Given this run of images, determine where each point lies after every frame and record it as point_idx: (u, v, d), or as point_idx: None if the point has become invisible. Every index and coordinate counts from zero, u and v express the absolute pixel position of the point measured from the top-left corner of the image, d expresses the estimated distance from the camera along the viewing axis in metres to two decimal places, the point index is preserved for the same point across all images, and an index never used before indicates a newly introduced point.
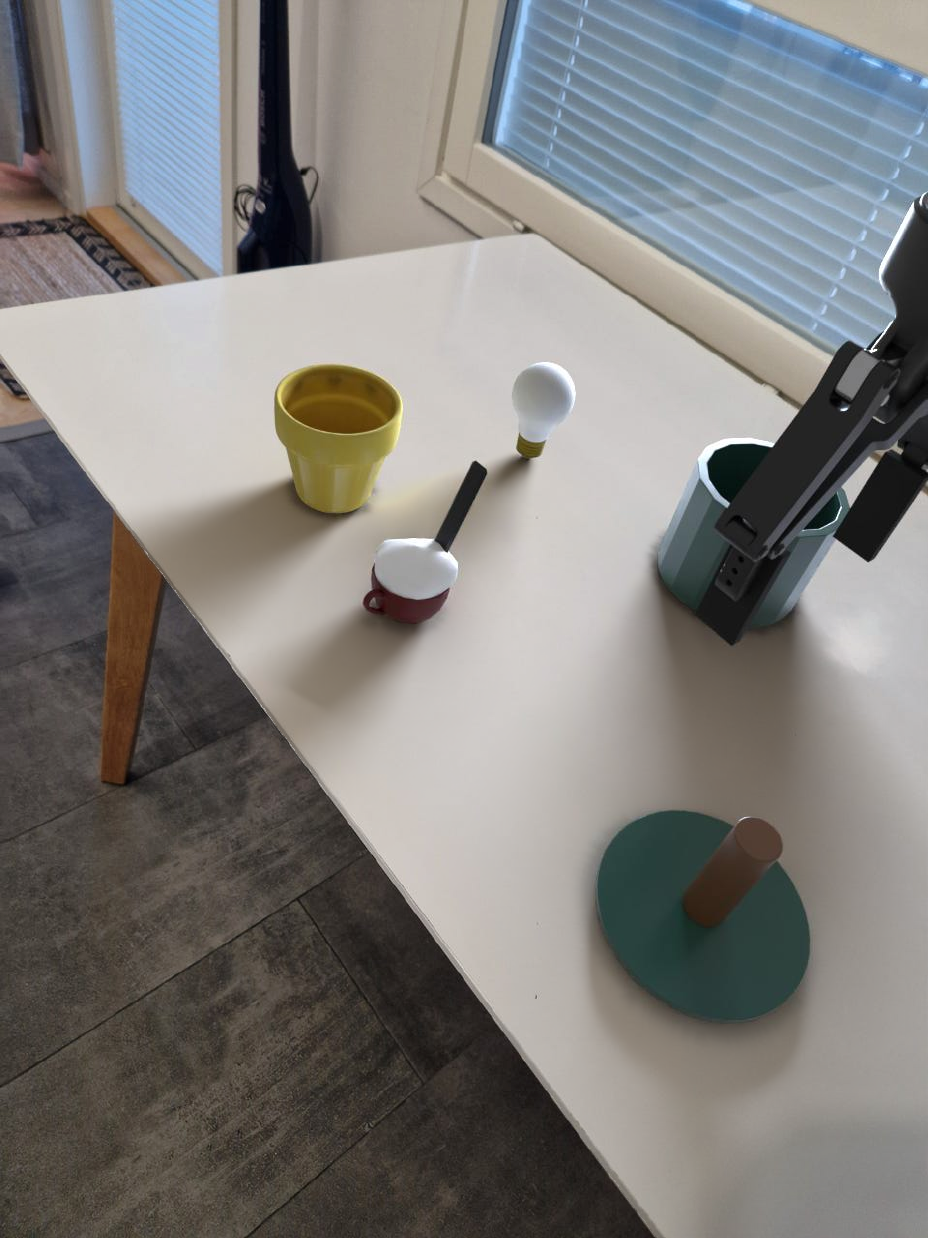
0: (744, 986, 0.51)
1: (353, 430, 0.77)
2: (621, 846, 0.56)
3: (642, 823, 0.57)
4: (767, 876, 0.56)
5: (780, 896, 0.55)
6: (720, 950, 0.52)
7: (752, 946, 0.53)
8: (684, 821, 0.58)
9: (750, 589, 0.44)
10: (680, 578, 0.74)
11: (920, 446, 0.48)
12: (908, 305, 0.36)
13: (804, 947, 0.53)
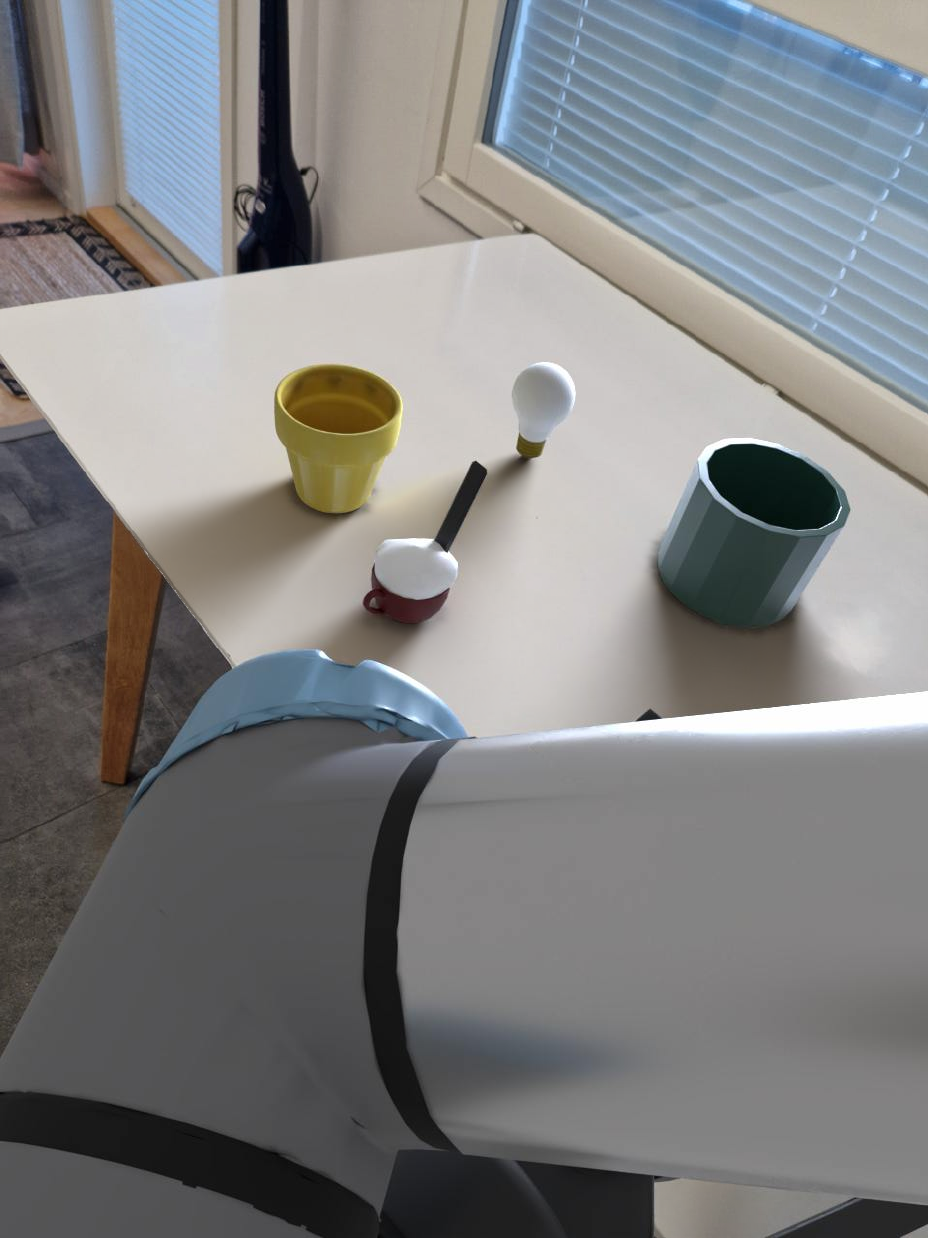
0: None
1: (353, 430, 0.77)
2: None
3: None
4: None
5: None
6: None
7: None
8: None
9: None
10: (680, 578, 0.74)
11: None
12: None
13: None
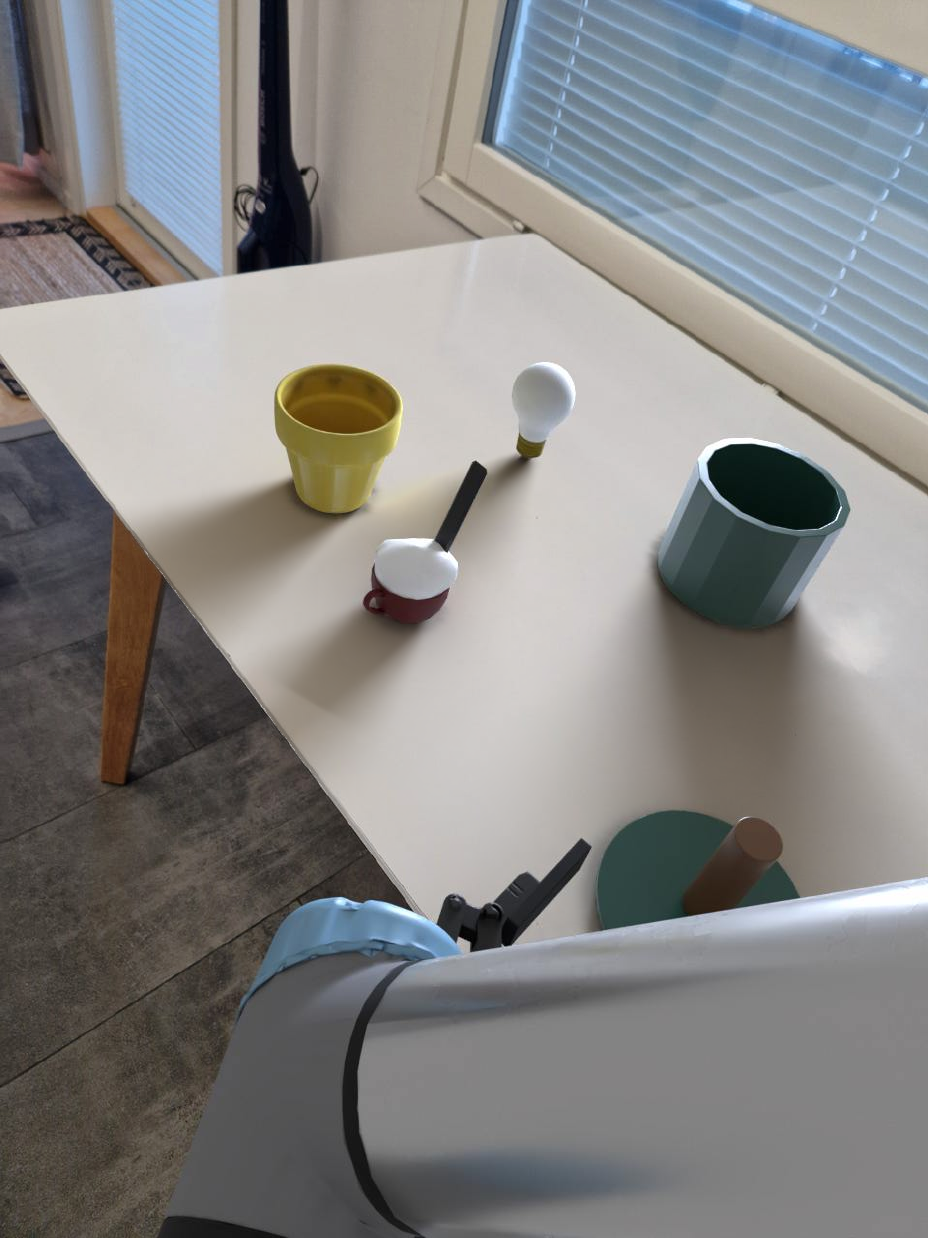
0: None
1: (353, 430, 0.77)
2: (621, 846, 0.56)
3: (642, 823, 0.57)
4: (767, 876, 0.56)
5: (780, 896, 0.55)
6: None
7: None
8: (684, 821, 0.58)
9: None
10: (680, 578, 0.74)
11: None
12: None
13: None
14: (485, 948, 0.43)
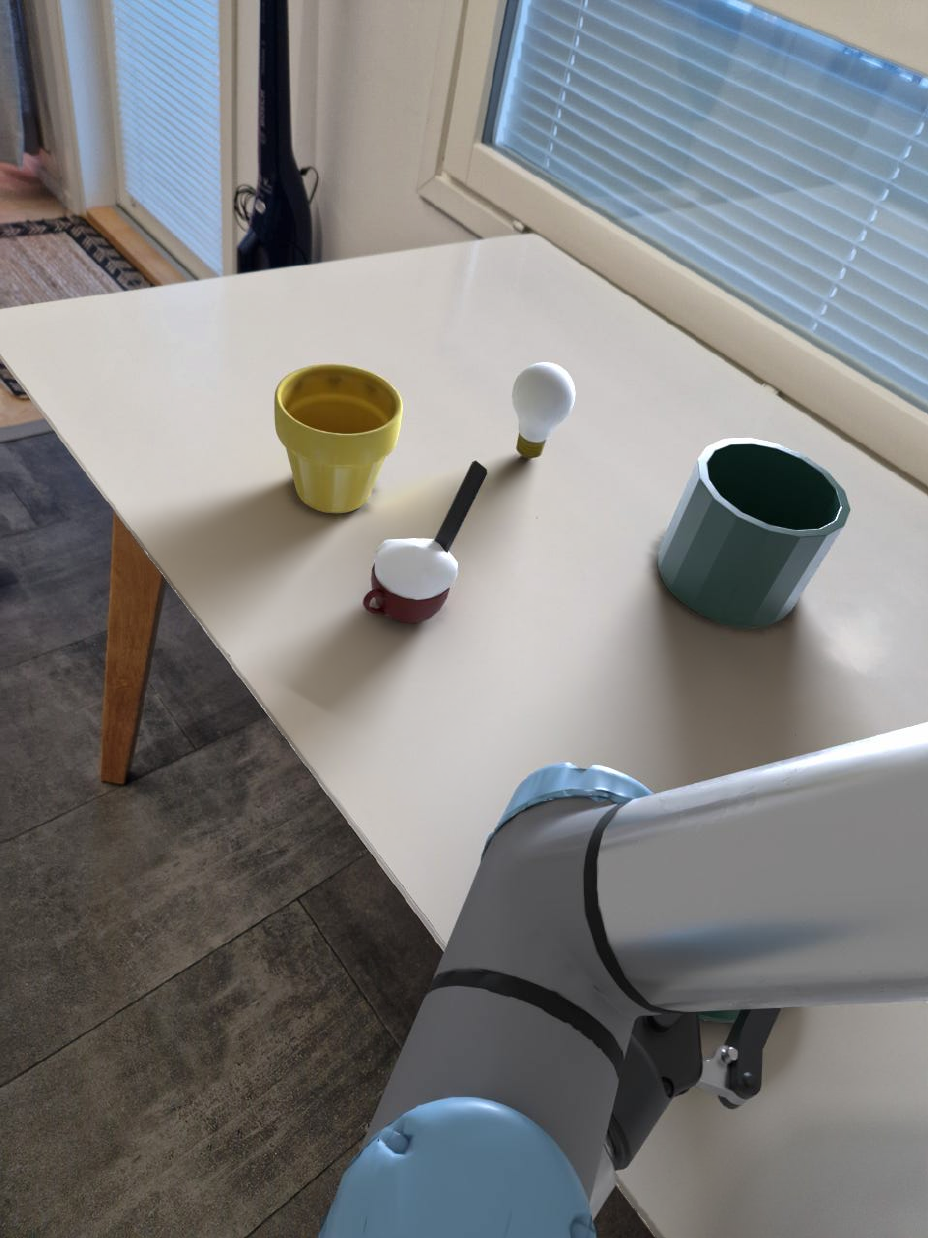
0: None
1: (353, 430, 0.77)
2: None
3: None
4: None
5: None
6: None
7: None
8: None
9: None
10: (680, 578, 0.74)
11: None
12: None
13: None
14: None
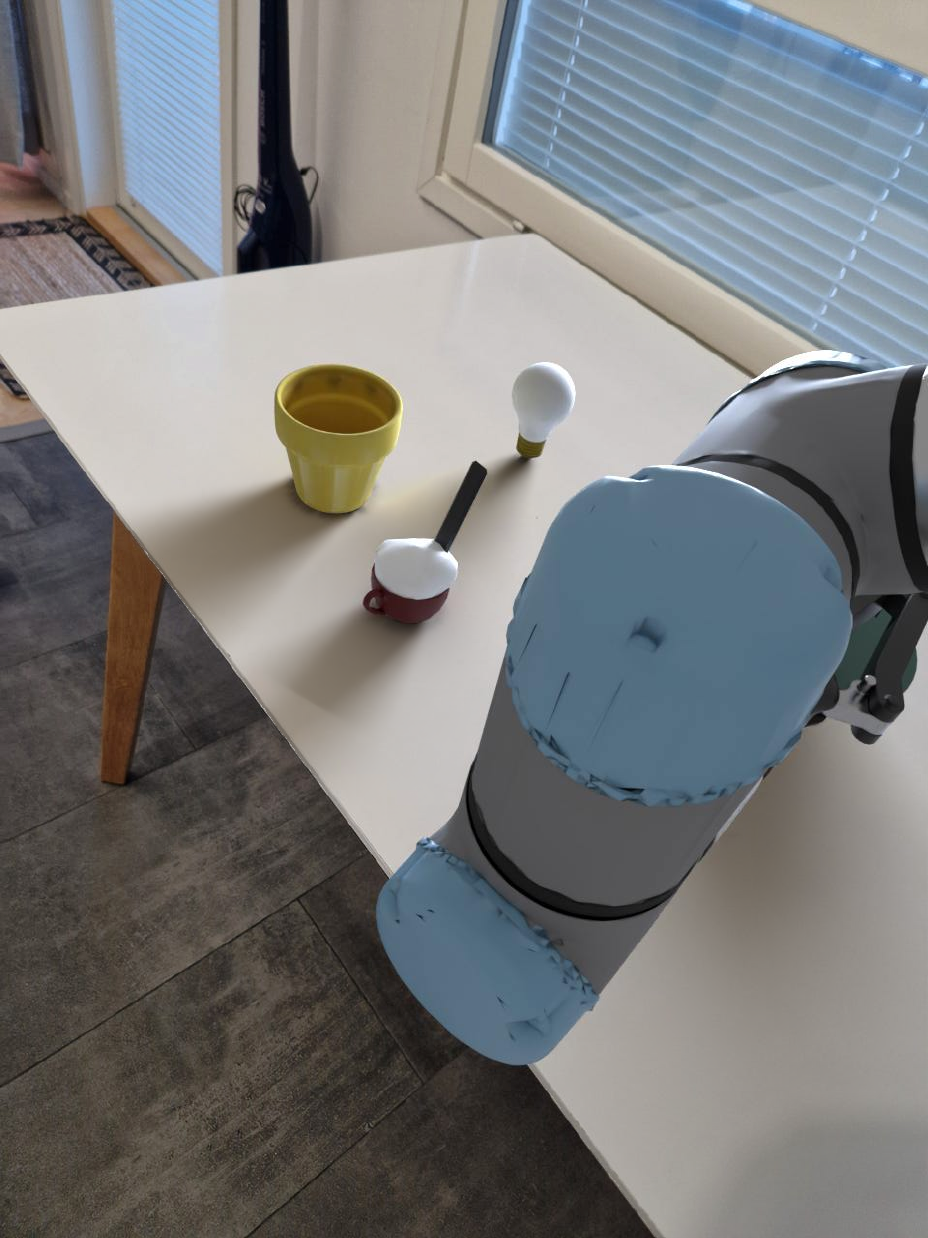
0: None
1: (353, 430, 0.77)
2: None
3: None
4: None
5: (880, 613, 0.53)
6: None
7: (858, 652, 0.50)
8: None
9: None
10: None
11: None
12: None
13: None
14: None
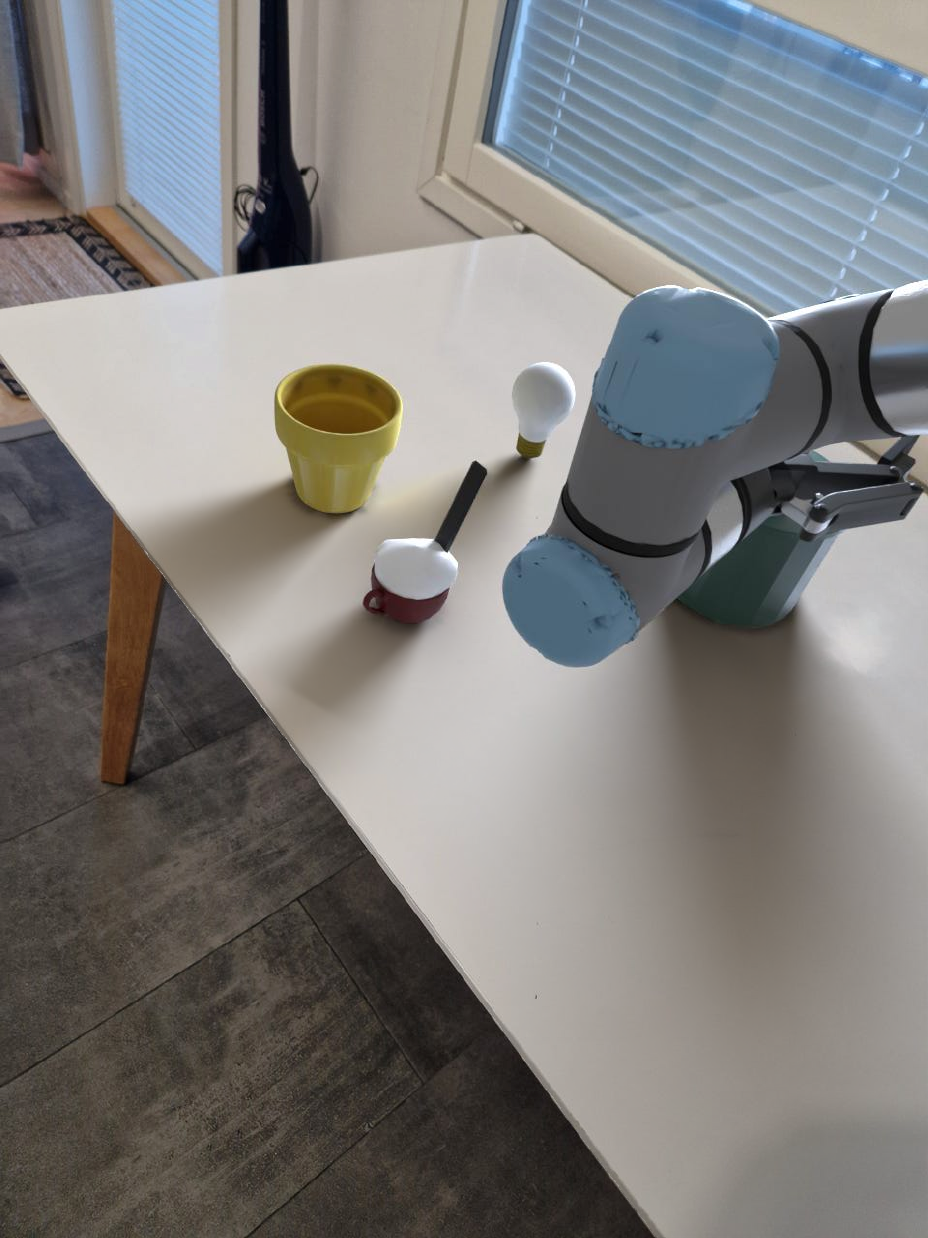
0: None
1: (353, 430, 0.77)
2: None
3: None
4: None
5: None
6: None
7: None
8: None
9: (901, 454, 0.62)
10: None
11: None
12: (762, 521, 0.56)
13: None
14: None
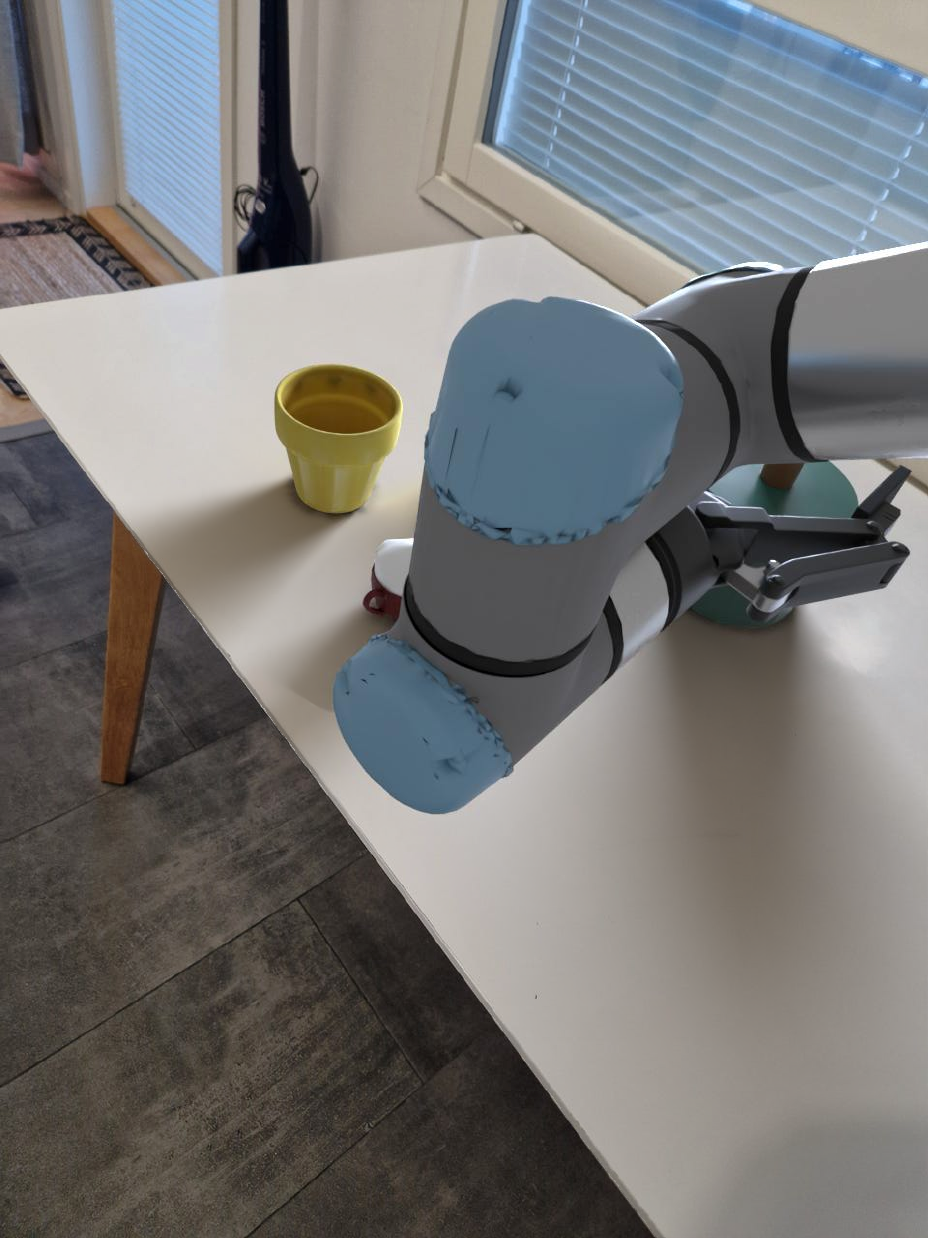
0: None
1: (353, 430, 0.77)
2: None
3: None
4: (823, 468, 0.72)
5: (833, 479, 0.72)
6: (790, 500, 0.68)
7: (814, 501, 0.69)
8: None
9: (882, 502, 0.50)
10: None
11: None
12: (701, 596, 0.44)
13: (854, 505, 0.69)
14: None
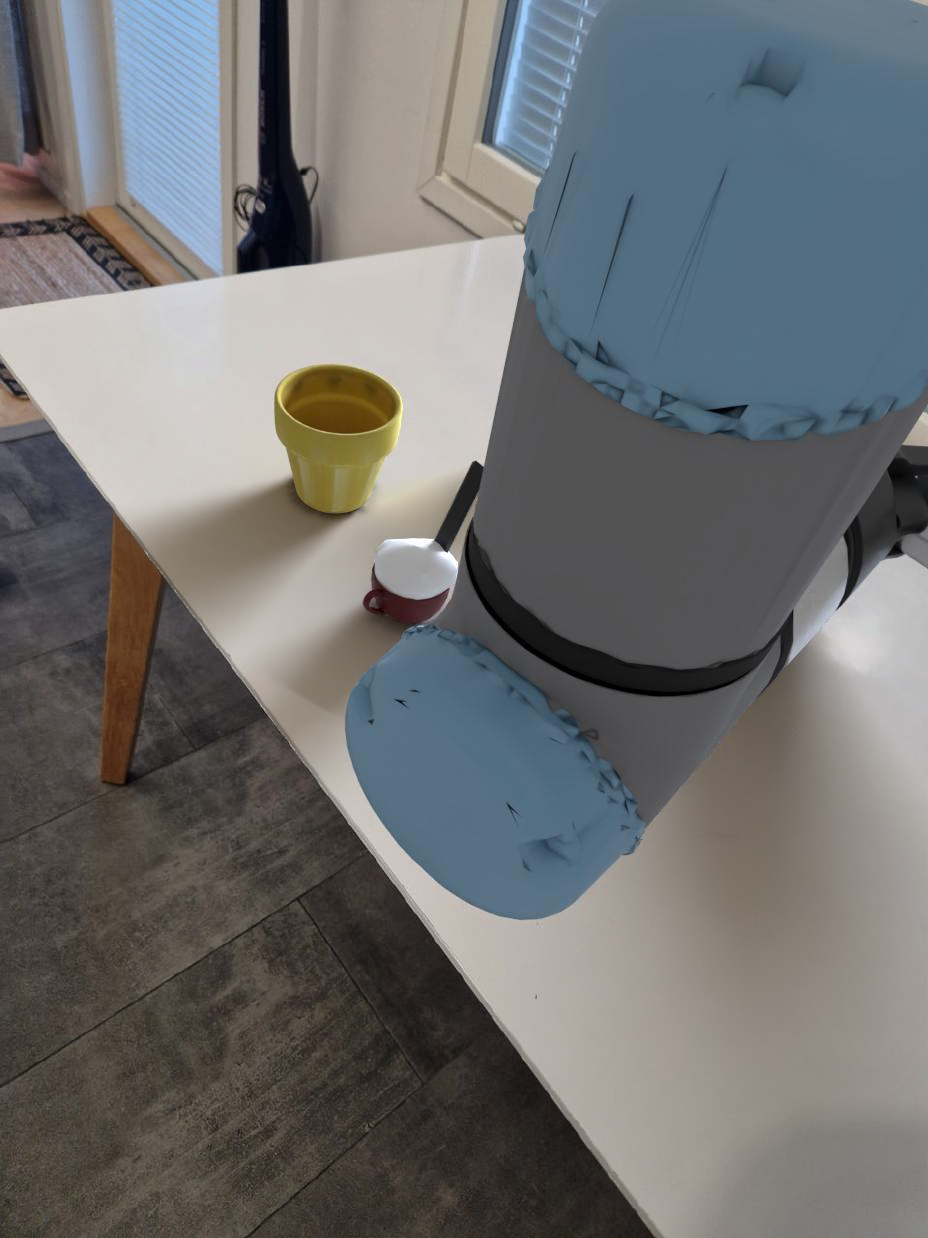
0: None
1: (353, 430, 0.77)
2: None
3: None
4: None
5: None
6: None
7: None
8: None
9: None
10: None
11: None
12: None
13: None
14: None
